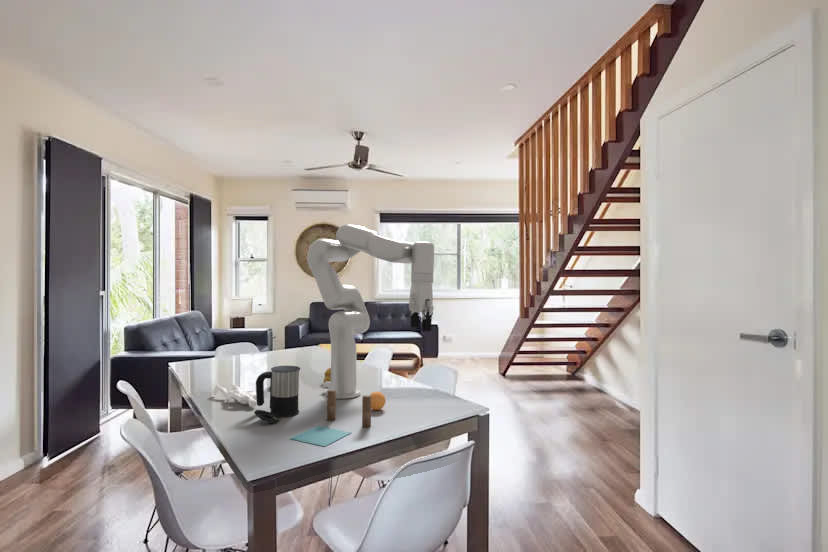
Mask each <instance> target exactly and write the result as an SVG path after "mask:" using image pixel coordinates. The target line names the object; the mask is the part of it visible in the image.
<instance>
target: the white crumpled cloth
mask: <svg viewBox="0 0 828 552" xmlns="http://www.w3.org/2000/svg"><path fill="white" fill-rule="evenodd" d="M231 385H232V389H231V390H230V391H228V390H227V389H226V388H225V387H222V386H220V385H219V384H216V385H215V387H214V390H213V396H216V395H218V391H219V392H220V393H221V394H222V395H223V398H224V399H223V403H225V404H226V403H228V404H231V402H230V400H234V399H235V400H236V401H237V402H238V403H240V404H242V405H246V404H248V406H249V407H250V408H252V409H254V408H255V407H256V406H257V398H256V390H252V391H246V390H244V389H242V388H241V387H240V386H237V385H236V384H234V383H233V384H231Z"/></svg>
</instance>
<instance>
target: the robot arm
mask: <svg viewBox="0 0 828 552" xmlns="http://www.w3.org/2000/svg"><path fill="white" fill-rule="evenodd" d="M335 234H336V235H335V236H336V237H335V238H336V240H335V239H328V238H327V239H325V238H322V239H321V238H320V239H316V240H315V241H312V243H311V244H310V245H309V248H308V249H307V255H306V257H307V258H306V259H307V264H308V266H309V268H310V271H311V273H312V275H313V277H314V280H315V281H316V286H317V287H318V290H319V292H320V295H321V298H322V301H323V303H324V306H326V308H327V309H329V310H332V311H335V310H339V311H336V312H334V313H333V314H331V316H330V317H329V319H328V330H329V337H330V368H331V382H330V381H325V383H324V382H323V385H322V387H323V388H327V389H328V390H336V400H337V399H338V400H340V399H343V400H346V399H353V398H356V397H359V396H360V395H361V390H360V389H358V388H357V352H358V351H357V344H356V340H355V338H354V335H360V334H363V333H365V332H367V331H368V329H369V328H370V324H371V320H370V319H371V318H370V314H369V313H368V310H367V307H366V305H365V302H364V299H363V297H362V295H361V293H360V291H359V290H358V289H357V287H355V286H354V285H350V284H342V282H341V280H340V279H339V275H338V273H337V271H336V270H335V268H334V267H333V266H332V265H331V264H330V262H333V263H334V262H335V263H342V262H346V261H348V260H350V259H351V258H353V257H354V256H357V254H359V253H360V252H362V253H365V254H368V255H370V256H371V257H373V258H376V259H379V260H382V261H385V262H388V263H394V264H395V263H396V264H411V273H410V284H411V285H410V289H409V300H408V309H409V311H410V328H420V325H421V331H422V332H431V331H432V322H433V321H432V320H433V314H434V308H435V307H434V306H433V303H434V302H433V284H434V268H435V264H434V263H435V245H434V243H432V242H429V241H416V242H410V241H403V240H398V239H397V240H396V239H391V238H388V237H384V236H380V234H379V233H378V231H376V230H371V229H368V228H366V227H365V226H361V225H357V224H356V225H355V224H343V225H341V226H339V227H338V229H337V231H336V233H335ZM420 313H421V315H422V319H420V318H421V315H420ZM420 323H421V324H420ZM328 390H327V391H328ZM327 391H326V393H325V394H326V396H327Z"/></svg>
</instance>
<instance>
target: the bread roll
mask: <svg viewBox="0 0 828 552" xmlns="http://www.w3.org/2000/svg"><path fill="white" fill-rule="evenodd" d="M325 381H330V382H331V367H329V368H327V369H326V370H325V372H324V378H323V384H324V383H325Z"/></svg>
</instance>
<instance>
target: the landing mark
mask: <svg viewBox="0 0 828 552" xmlns="http://www.w3.org/2000/svg"><path fill="white" fill-rule="evenodd" d="M351 434H352V432H351V431H346V430H340V429H336V428H331V427H327V426H326V427H325V426H322V425H321V426H320V425H317V426H315V427H313V428H310V429H308V430H306V431H303V432H301V433H299V434H296V435H294V436H292V437H290V438H289V440H294V441H298V442H302V443H306V444H310V445H315V446H318V447H319V446H320V447H323V448H325V447H328V446H329V445H332V444H333V443H335V442H338V441H339V440H341V439H343V438H345V437H347V436H349V435H351Z"/></svg>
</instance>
